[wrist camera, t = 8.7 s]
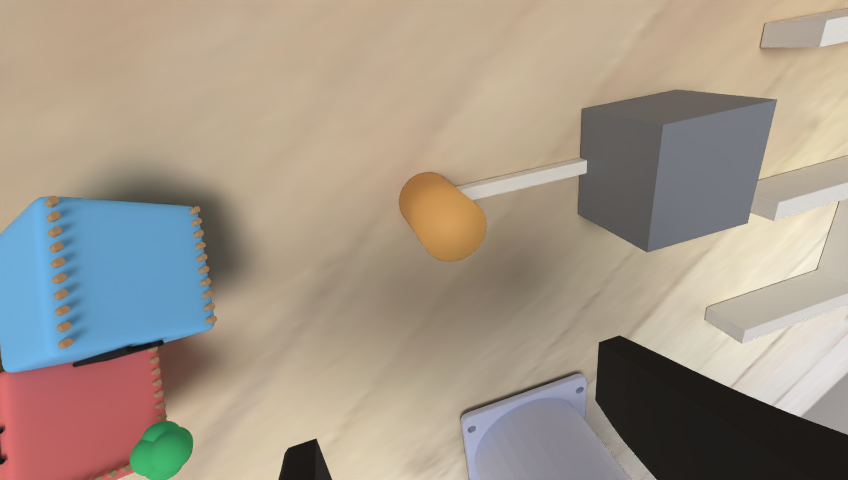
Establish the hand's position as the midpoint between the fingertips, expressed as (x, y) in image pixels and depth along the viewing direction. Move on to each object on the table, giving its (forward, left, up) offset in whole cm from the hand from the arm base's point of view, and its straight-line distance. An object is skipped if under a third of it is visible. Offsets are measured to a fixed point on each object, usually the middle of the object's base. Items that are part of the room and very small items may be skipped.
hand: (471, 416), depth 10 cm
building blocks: (+1, +13, -10) cm, 16 cm away
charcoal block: (+2, -8, -9) cm, 12 cm away
